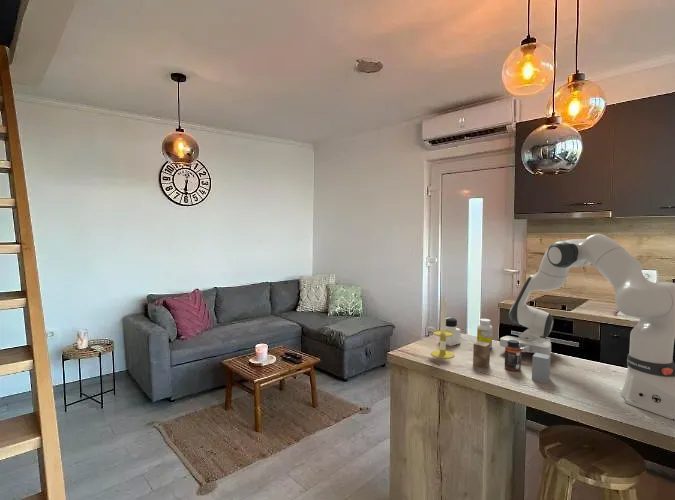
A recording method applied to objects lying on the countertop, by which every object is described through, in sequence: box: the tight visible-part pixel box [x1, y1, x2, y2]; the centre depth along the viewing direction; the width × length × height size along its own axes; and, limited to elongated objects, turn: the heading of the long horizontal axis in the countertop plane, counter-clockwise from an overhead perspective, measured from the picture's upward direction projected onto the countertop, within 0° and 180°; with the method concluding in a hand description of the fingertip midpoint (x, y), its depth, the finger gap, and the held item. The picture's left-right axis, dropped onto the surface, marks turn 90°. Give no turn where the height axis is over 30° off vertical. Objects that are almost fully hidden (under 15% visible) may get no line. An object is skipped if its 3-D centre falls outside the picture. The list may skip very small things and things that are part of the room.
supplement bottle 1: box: [476, 318, 493, 349], centre depth 181 cm, size 7×7×13 cm
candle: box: [430, 295, 455, 360], centre depth 170 cm, size 10×10×27 cm
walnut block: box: [472, 340, 491, 369], centre depth 158 cm, size 5×5×9 cm
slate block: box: [531, 353, 552, 384], centre depth 144 cm, size 5×5×9 cm
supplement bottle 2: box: [504, 340, 522, 372], centre depth 154 cm, size 6×6×11 cm
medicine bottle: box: [439, 317, 462, 347], centre depth 187 cm, size 7×7×12 cm
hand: (520, 349), depth 162 cm, fingers closed
